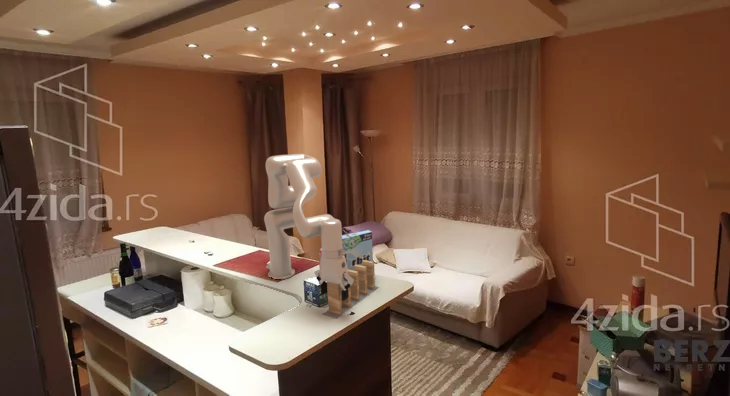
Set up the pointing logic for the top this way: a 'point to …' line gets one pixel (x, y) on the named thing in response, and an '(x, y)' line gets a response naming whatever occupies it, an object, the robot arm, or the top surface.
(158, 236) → the top surface
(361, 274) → the tile
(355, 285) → the tile
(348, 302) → the tile
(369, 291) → the mat
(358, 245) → the gum box
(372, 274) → the wooden domino
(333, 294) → the tile
